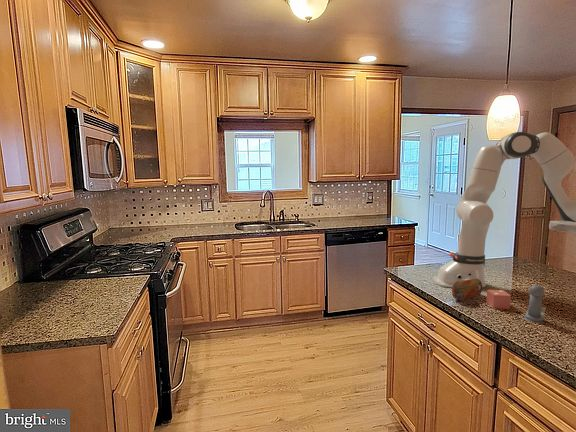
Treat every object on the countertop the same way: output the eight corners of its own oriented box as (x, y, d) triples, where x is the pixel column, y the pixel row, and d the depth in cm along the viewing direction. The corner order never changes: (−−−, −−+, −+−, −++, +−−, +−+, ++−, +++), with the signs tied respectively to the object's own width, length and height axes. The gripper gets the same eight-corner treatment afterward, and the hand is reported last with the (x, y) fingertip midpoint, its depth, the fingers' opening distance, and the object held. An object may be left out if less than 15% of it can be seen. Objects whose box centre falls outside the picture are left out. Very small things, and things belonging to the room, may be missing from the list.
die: (492, 310, 133) (494, 294, 132) (486, 304, 139) (487, 289, 138) (509, 310, 132) (511, 295, 132) (502, 304, 138) (503, 290, 137)
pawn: (530, 321, 121) (533, 287, 120) (522, 315, 126) (525, 282, 125) (546, 322, 121) (549, 288, 119) (537, 316, 126) (541, 282, 124)
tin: (456, 302, 141) (457, 282, 140) (449, 300, 144) (451, 280, 142) (482, 297, 147) (483, 277, 146) (475, 294, 150) (477, 275, 148)
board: (519, 303, 139) (519, 301, 139) (556, 311, 132) (557, 309, 132) (512, 319, 125) (512, 317, 125) (554, 329, 117) (554, 327, 117)
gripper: (563, 216, 148) (539, 218, 144) (621, 223, 128) (595, 226, 124) (562, 231, 149) (538, 233, 144) (619, 240, 129) (593, 243, 125)
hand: (565, 229), depth 134 cm, fingers open, 8 cm apart
